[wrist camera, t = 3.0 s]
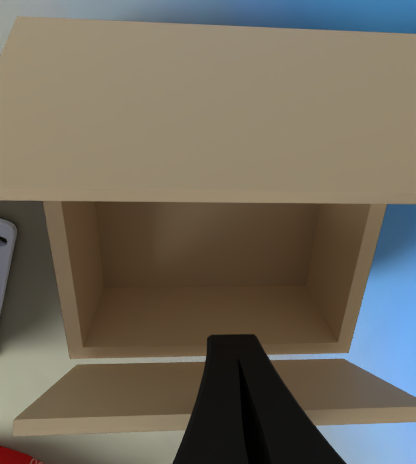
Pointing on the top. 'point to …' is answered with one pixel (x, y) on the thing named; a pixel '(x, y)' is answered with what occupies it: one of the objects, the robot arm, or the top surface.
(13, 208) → the top surface
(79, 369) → the far flap
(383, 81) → the near flap
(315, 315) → the carton
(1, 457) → the kitchen timer
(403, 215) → the top surface
